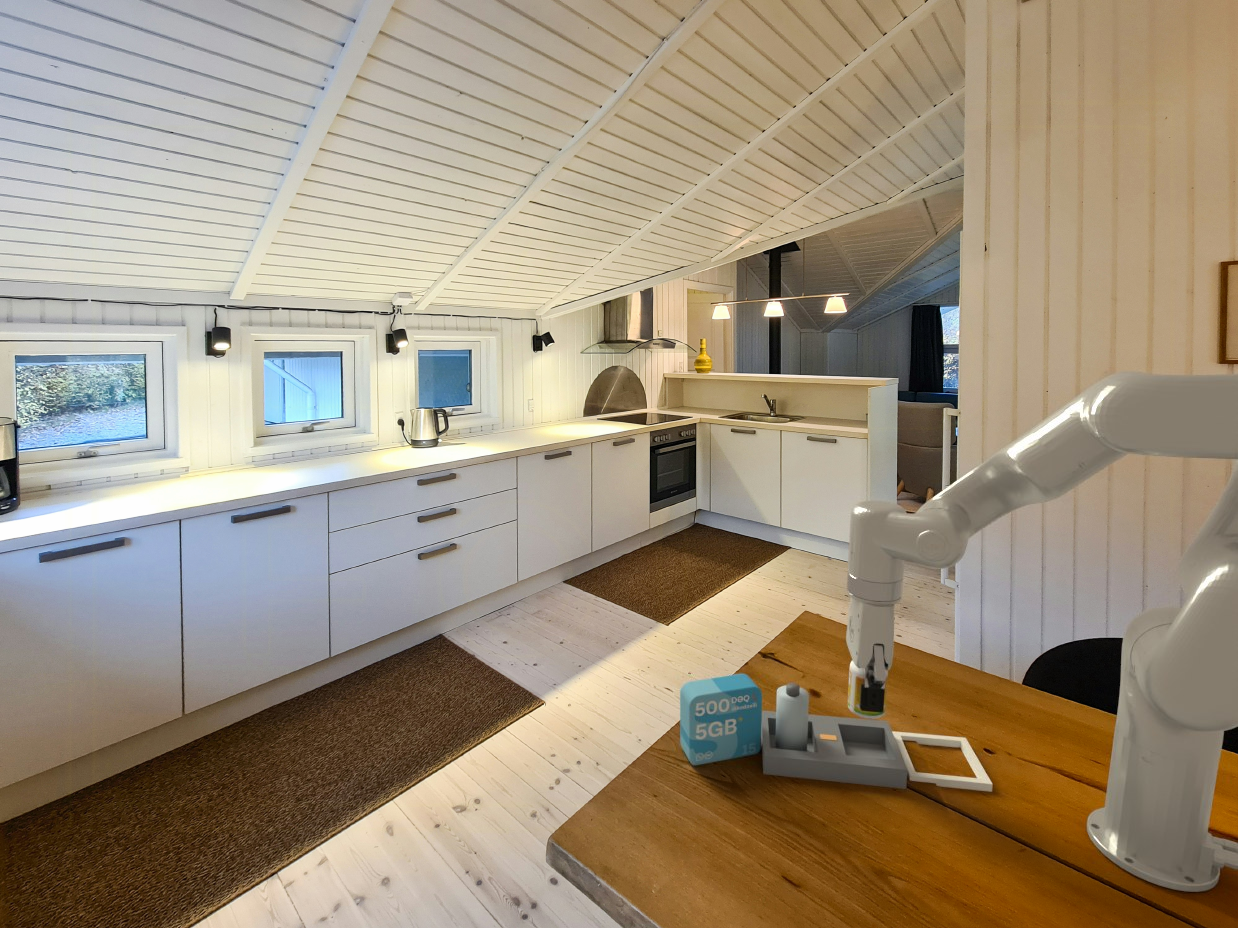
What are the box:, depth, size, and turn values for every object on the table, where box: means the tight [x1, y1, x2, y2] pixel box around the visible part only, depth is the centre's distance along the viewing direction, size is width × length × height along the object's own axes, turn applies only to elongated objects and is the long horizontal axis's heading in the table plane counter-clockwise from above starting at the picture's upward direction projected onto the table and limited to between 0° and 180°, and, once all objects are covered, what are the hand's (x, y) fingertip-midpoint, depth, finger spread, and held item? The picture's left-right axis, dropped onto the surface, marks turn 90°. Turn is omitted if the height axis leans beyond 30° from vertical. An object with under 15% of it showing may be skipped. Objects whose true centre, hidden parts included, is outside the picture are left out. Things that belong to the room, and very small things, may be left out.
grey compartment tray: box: [761, 710, 908, 790], centre depth 96 cm, size 20×12×4 cm, turn 79°
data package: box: [679, 673, 763, 766], centre depth 97 cm, size 12×4×12 cm, turn 104°
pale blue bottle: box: [775, 682, 810, 751], centre depth 97 cm, size 5×5×11 cm
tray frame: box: [892, 730, 993, 793], centre depth 95 cm, size 11×11×1 cm
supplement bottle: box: [847, 660, 889, 720], centre depth 93 cm, size 5×5×10 cm
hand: (867, 697), depth 94 cm, fingers closed on supplement bottle, 5 cm apart
